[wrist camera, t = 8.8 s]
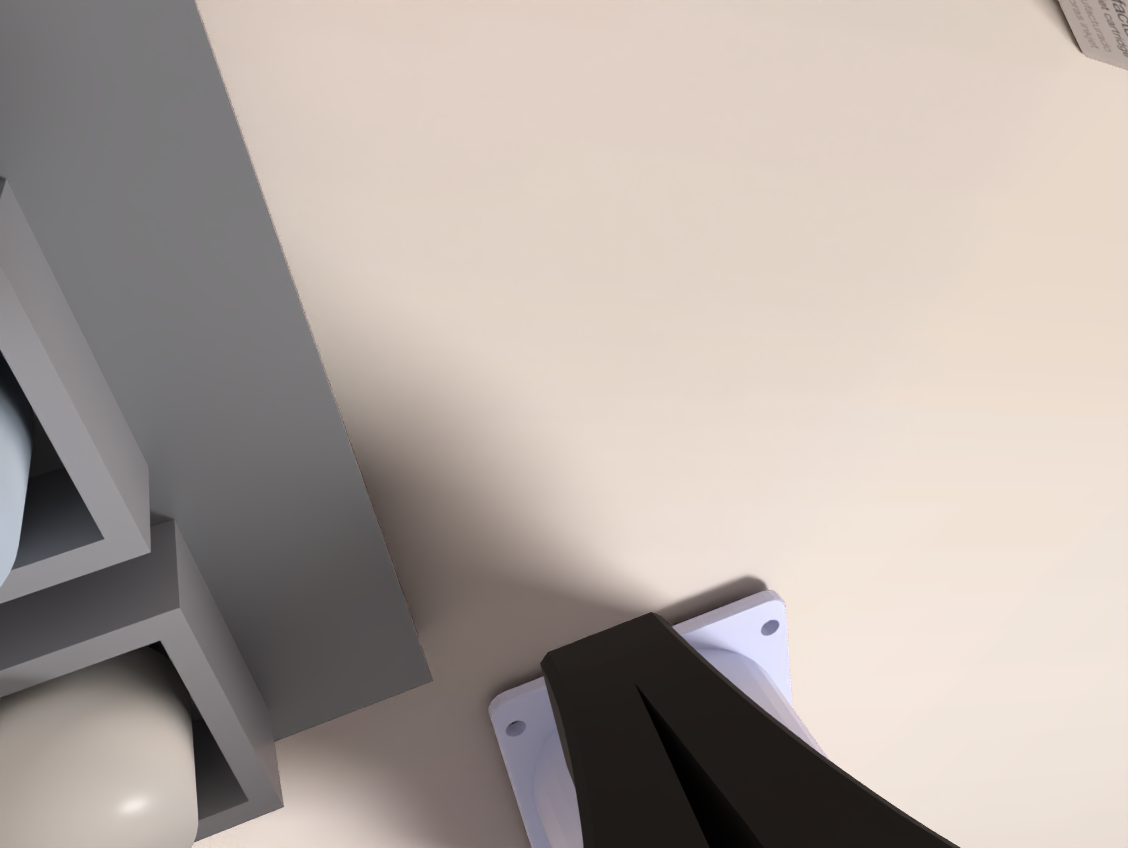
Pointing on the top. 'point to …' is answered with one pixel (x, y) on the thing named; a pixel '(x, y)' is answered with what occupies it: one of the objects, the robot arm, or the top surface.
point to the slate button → (13, 463)
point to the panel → (175, 405)
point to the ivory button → (100, 758)
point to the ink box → (1100, 29)
